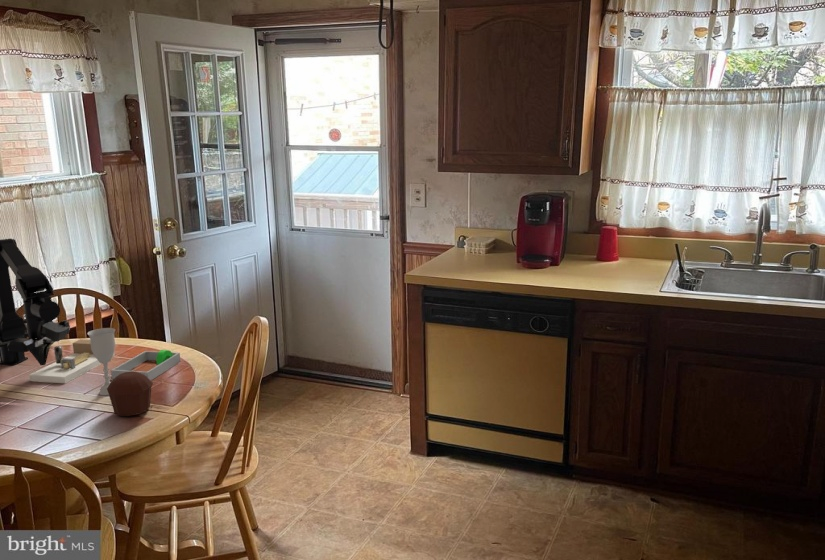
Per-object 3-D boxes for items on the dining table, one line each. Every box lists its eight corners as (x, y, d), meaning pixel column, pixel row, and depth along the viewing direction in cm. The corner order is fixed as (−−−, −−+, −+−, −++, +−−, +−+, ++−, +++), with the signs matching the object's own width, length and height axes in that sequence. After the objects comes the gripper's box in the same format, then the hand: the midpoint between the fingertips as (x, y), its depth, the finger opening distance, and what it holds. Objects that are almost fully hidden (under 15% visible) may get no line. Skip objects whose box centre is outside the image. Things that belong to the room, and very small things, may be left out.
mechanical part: (174, 379, 209) (172, 354, 207) (158, 377, 211) (155, 353, 209) (197, 365, 220) (194, 342, 219) (181, 364, 222) (178, 341, 220)
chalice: (116, 385, 198) (110, 326, 194) (126, 391, 193) (119, 331, 189) (90, 392, 193) (83, 331, 189) (99, 398, 188) (92, 336, 184)
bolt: (50, 367, 207) (47, 350, 206) (72, 356, 217) (70, 340, 215) (68, 368, 206) (66, 351, 205) (89, 357, 215) (87, 341, 214)
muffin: (107, 405, 183) (103, 371, 181) (150, 397, 189) (147, 363, 186) (112, 421, 173) (108, 385, 171) (158, 412, 178) (154, 377, 176)
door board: (29, 381, 202) (27, 363, 201) (82, 355, 225) (80, 339, 224) (65, 383, 200) (63, 365, 199) (114, 356, 223) (113, 341, 222)
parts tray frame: (111, 379, 202) (110, 370, 202) (146, 359, 220) (145, 350, 219) (148, 382, 200) (147, 372, 200) (180, 361, 218) (179, 352, 217)
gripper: (37, 325, 189) (44, 377, 192) (81, 307, 207) (87, 356, 210) (2, 323, 191) (10, 375, 194) (49, 306, 209) (55, 354, 212)
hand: (43, 365), depth 203 cm, fingers closed
